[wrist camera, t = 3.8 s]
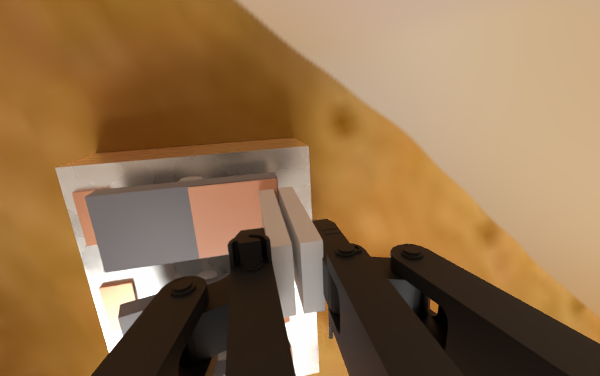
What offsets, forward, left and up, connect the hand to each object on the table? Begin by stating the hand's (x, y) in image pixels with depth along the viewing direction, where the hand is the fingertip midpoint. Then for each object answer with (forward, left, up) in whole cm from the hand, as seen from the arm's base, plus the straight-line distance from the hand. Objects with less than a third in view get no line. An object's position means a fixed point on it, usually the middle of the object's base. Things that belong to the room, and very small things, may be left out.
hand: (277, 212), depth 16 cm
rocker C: (-4, 0, -2) cm, 5 cm away
